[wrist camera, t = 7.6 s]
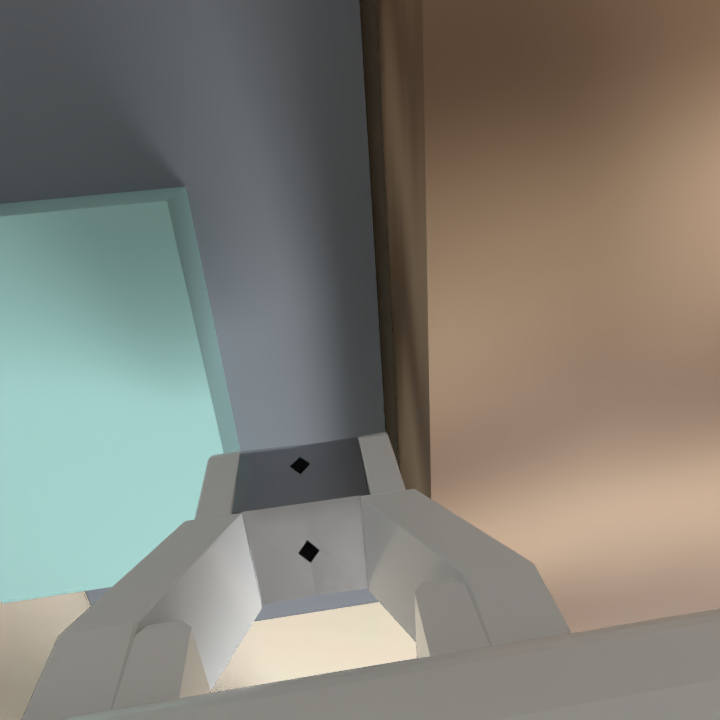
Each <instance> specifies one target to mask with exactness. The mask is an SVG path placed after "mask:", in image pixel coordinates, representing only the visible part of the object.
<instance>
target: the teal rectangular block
mask: <svg viewBox="0 0 720 720" xmlns="http://www.w3.org/2000/svg"><path fill="white" fill-rule="evenodd" d="M238 451H239V452H241V451H240V446H239V441H238V436H237V431H236V427H235V422H234V417H233V412H232V407H231V402H230V398H229V393H228V388H227V383H226V378H225V374H224V369H223V364H222V359H221V354H220V349H219V345H218V340H217V335H216V330H215V325H214V321H213V316H212V311H211V306H210V301H209V296H208V292H207V287H206V282H205V277H204V272H203V268H202V263H201V258H200V253H199V248H198V243H197V239H196V234H195V229H194V224H193V219H192V214H191V210H190V205H189V200H188V195H187V190H186V187H175V188H164V189H154V190H143V191H132V192H122V193H111V194H100V195H89V196H79V197H68V198H57V199H47V200H36V201H25V202H15V203H4V204H0V601H1V603H8V602H15V601H22V600H28V599H35V598H41V597H48V596H55V595H61V594H68V593H75V592H81V591H88V590H94V589H101V588H108V587H113V586H114V585H115V584H116V583H117V582H118V581H119V580H121V579H122V578H123V577H124V576H125V575H126V574H127V573H128V572H129V571H130V570H132V569H133V568H134V567H135V566H136V565H137V564H138V563H139V562H140V561H141V560H143V559H144V558H145V557H146V556H147V555H148V554H149V553H150V552H151V551H153V550H154V549H155V548H156V547H157V546H158V545H159V544H160V543H161V542H162V541H164V540H165V539H166V538H167V537H168V536H169V535H170V534H171V533H172V532H173V531H175V530H176V529H177V528H178V527H179V526H180V525H181V524H182V523H183V522H185V521H188V520H194V518H195V514H196V510H197V505H198V501H199V496H200V492H201V488H202V483H203V479H204V475H205V470H206V466H207V461H208V459H209V458H210V457H211V456H212V455H217V454H224V453H231V452H238Z"/></svg>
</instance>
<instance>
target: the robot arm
mask: <svg viewBox="0 0 720 720" xmlns="http://www.w3.org/2000/svg"><path fill="white" fill-rule="evenodd" d="M367 588H369V591H370V592H371V594H372V595H373V596H374V597H375V598H376V599H377V600H378V601H379V602H380V603H381V605H382V606H383V607H384V608H385V609H386V610H387V611H388V612H389V613H390V614H391V615H392V617H393V618H394V619H395V620H396V621H397V622H398V623H399V624H400V625H401V626H402V628H403V629H404V630H405V631H406V632H407V633H408V634H409V635H410V636H411V637H412V638H413V640H414V641H415V642H416V650H417V658H416V659H410V660H404V661H398V662H392V663H386V664H380V665H374V666H368V667H362V668H357V669H351V670H345V671H339V672H333V673H327V674H321V675H315V676H309V677H303V678H297V679H291V680H285V681H279V682H273V683H267V684H261V685H255V686H249V687H243V688H237V689H231V690H225V691H219V692H214V693H211V690H212V688H213V686H214V685H215V683H216V682H217V680H218V678H219V677H220V675H221V674H222V672H223V670H224V669H225V667H226V665H227V664H228V662H229V661H230V659H231V657H232V656H233V654H234V653H235V651H236V649H237V648H238V646H239V644H240V643H241V641H242V640H243V638H244V636H245V635H246V633H247V632H248V630H249V628H250V627H251V625H252V623H253V622H254V620H255V619H256V617H257V615H258V614H259V612H260V610H261V609H262V606H261V605H264V604H269V603H275V602H280V601H286V600H291V599H297V598H302V597H307V596H313V595H315V594H316V595H320V594H328V593H336V592H344V591H352V590H359V589H367ZM22 720H720V608H716V609H710V610H704V611H698V612H692V613H686V614H680V615H674V616H669V617H663V618H657V619H651V620H645V621H639V622H633V623H627V624H621V625H616V626H610V627H604V628H598V629H592V630H586V631H580V632H574V633H571V631H570V629H569V627H568V625H567V623H566V622H565V620H564V618H563V616H562V614H561V612H560V611H559V609H558V607H557V605H556V603H555V602H554V600H553V598H552V596H551V594H550V592H549V591H548V589H547V587H546V585H545V583H544V581H543V580H542V578H541V576H540V574H539V572H538V570H537V569H536V567H535V565H534V563H532V562H531V561H529V560H527V559H526V558H524V557H523V556H521V555H519V554H518V553H516V552H515V551H513V550H511V549H510V548H508V547H507V546H505V545H503V544H502V543H500V542H499V541H497V540H496V539H494V538H492V537H491V536H489V535H488V534H486V533H484V532H483V531H481V530H480V529H478V528H476V527H475V526H473V525H472V524H470V523H468V522H467V521H465V520H464V519H462V518H460V517H459V516H457V515H456V514H454V513H452V512H451V511H449V510H448V509H446V508H444V507H443V506H441V505H440V504H438V503H436V502H435V501H433V500H432V499H430V498H428V497H427V496H425V495H424V494H422V493H420V492H419V491H417V490H416V489H409V490H406V489H405V486H404V483H403V479H402V476H401V473H400V470H399V467H398V464H397V461H396V458H395V455H394V451H393V448H392V445H391V442H390V439H389V436H388V434H387V433H386V432H382V433H376V434H370V435H364V436H358V437H353V438H347V439H340V440H334V441H327V442H321V443H314V444H308V445H301V446H300V445H294V446H285V447H276V448H267V449H258V450H249V451H242V452H239V451H238V452H231V453H224V454H217V455H212V456H211V457H210V458H209V459H208V461H207V466H206V470H205V475H204V479H203V483H202V488H201V492H200V496H199V501H198V505H197V510H196V514H195V518H194V520H188V521H185V522H183V523H182V524H181V525H180V526H179V527H178V528H177V529H176V530H175V531H173V532H172V533H171V534H170V535H169V536H168V537H167V538H166V539H165V540H164V541H162V542H161V543H160V544H159V545H158V546H157V547H156V548H155V549H154V550H153V551H151V552H150V553H149V554H148V555H147V556H146V557H145V558H144V559H143V560H141V561H140V562H139V563H138V564H137V565H136V566H135V567H134V568H133V569H132V570H130V571H129V572H128V573H127V574H126V575H125V576H124V577H123V578H122V579H121V580H119V581H118V582H117V583H116V584H115V585H114V586H113V587H112V588H111V589H109V590H108V591H107V592H106V593H105V594H104V595H103V596H102V597H101V598H100V599H98V600H97V601H96V602H95V603H94V604H93V605H92V606H91V607H90V608H89V609H87V610H86V611H85V612H84V613H83V614H82V615H81V616H80V617H79V618H77V619H76V620H75V621H74V622H73V623H72V624H71V625H70V626H69V627H68V628H66V629H65V630H64V631H63V632H62V633H61V634H60V635H59V636H58V638H57V640H56V642H55V644H54V647H53V649H52V651H51V654H50V656H49V658H48V660H47V663H46V665H45V667H44V670H43V672H42V674H41V676H40V679H39V681H38V683H37V685H36V688H35V690H34V692H33V695H32V697H31V699H30V701H29V704H28V706H27V708H26V710H25V713H24V715H23V717H22Z"/></svg>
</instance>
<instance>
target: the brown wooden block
mask: <svg viewBox="0 0 720 720" xmlns="http://www.w3.org/2000/svg"><path fill="white" fill-rule="evenodd" d="M376 3H377V24H378V44H379V65H380V85H381V105H382V126H383V146H384V167H385V187H386V208H387V228H388V249H389V269H390V290H391V310H392V330H393V351H394V371H395V392H396V412H397V433H398V453H399V470H400V473H401V476H402V479H403V483H404V486H405V489H406V490H409V489H416V490H417V491H419V492H420V493H422V494H424V495H425V496H427V497H428V498H430V499H432V500H433V501H435V502H436V503H438V504H440V505H441V506H443V507H444V508H446V509H448V510H449V511H451V512H452V513H454V514H456V515H457V516H459V517H460V518H462V519H464V520H465V521H467V522H468V523H470V524H472V525H473V526H475V527H476V528H478V529H480V530H481V531H483V532H484V533H486V534H488V535H489V536H491V537H492V538H494V539H496V540H497V541H499V542H500V543H502V544H503V545H505V546H507V547H508V548H510V549H511V550H513V551H515V552H516V553H518V554H519V555H521V556H523V557H524V558H526V559H527V560H529V561H531V562H532V563H534V565H535V567H536V569H537V570H538V572H539V574H540V576H541V578H542V580H543V581H544V583H545V585H546V587H547V589H548V591H549V592H550V594H551V596H552V598H553V600H554V602H555V603H556V605H557V607H558V609H559V611H560V612H561V614H562V616H563V618H564V620H565V622H566V623H567V625H568V627H569V629H570V631H571V633H574V632H580V631H586V630H592V629H598V628H604V627H610V626H616V625H621V624H627V623H633V622H639V621H645V620H651V619H657V618H663V617H669V616H674V615H680V614H686V613H692V612H698V611H704V610H710V609H716V608H720V0H376Z"/></svg>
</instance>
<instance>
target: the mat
mask: <svg viewBox="0 0 720 720" xmlns="http://www.w3.org/2000/svg"><path fill="white" fill-rule="evenodd" d="M175 187H186V190H187V195H188V200H189V205H190V210H191V214H192V219H193V224H194V229H195V234H196V239H197V243H198V248H199V253H200V258H201V263H202V268H203V272H204V277H205V282H206V287H207V292H208V296H209V301H210V306H211V311H212V316H213V321H214V325H215V330H216V335H217V340H218V345H219V349H220V354H221V359H222V364H223V369H224V374H225V378H226V383H227V388H228V393H229V398H230V402H231V407H232V412H233V417H234V422H235V427H236V431H237V436H238V441H239V446H240V451H241V452H242V451H249V450H258V449H267V448H276V447H285V446H294V445H300V446H301V445H308V444H314V443H321V442H327V441H334V440H340V439H347V438H353V437H358V436H364V435H370V434H376V433H382V432H385V417H384V400H383V384H382V367H381V351H380V334H379V318H378V301H377V284H376V268H375V251H374V235H373V218H372V202H371V185H370V169H369V152H368V135H367V119H366V102H365V86H364V69H363V53H362V36H361V20H360V3H359V0H0V204H4V203H15V202H25V201H36V200H47V199H57V198H68V197H79V196H89V195H100V194H111V193H122V192H132V191H143V190H154V189H164V188H175ZM111 588H112V587H108V588H101V589H94V590H88V591H85V592H86V594H87V597H88V599H89V601H90V604H91V606H92V605H93V604H94V603H95V602H96V601H97V600H98V599H100V598H101V597H102V596H103V595H104V594H105V593H106V592H107V591H108V590H109V589H111ZM375 602H379V601H378V600H377V599H376V598H375V597H374V596H373V595H372V594H371V592H370V591H369V588H367V589H359V590H352V591H344V592H336V593H328V594H320V595H316V594H315V595H313V596H307V597H302V598H297V599H291V600H286V601H280V602H275V603H269V604H264V605H261V606H262V609H261V610H260V612H259V614H258V615H257V617H256V619H255V620H254V621H260V620H266V619H273V618H279V617H285V616H292V615H298V614H305V613H311V612H317V611H324V610H330V609H337V608H343V607H349V606H356V605H362V604H368V603H375Z"/></svg>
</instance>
